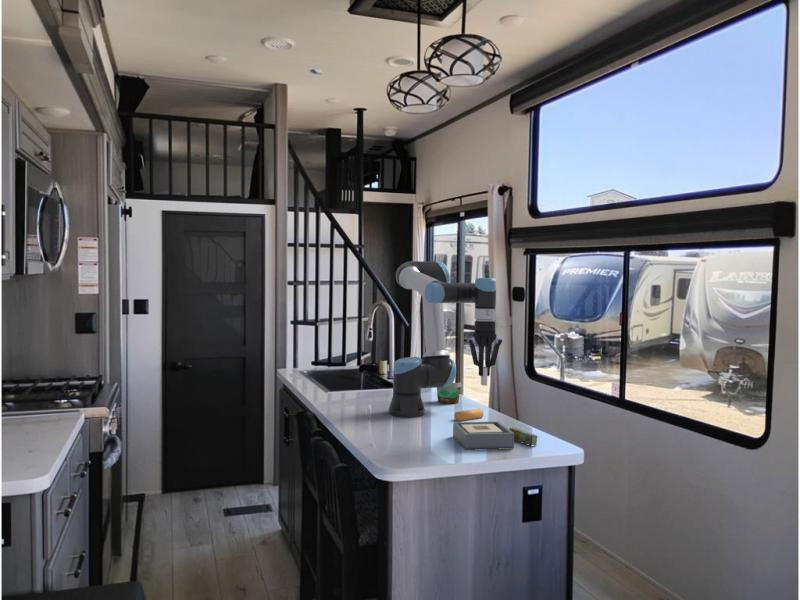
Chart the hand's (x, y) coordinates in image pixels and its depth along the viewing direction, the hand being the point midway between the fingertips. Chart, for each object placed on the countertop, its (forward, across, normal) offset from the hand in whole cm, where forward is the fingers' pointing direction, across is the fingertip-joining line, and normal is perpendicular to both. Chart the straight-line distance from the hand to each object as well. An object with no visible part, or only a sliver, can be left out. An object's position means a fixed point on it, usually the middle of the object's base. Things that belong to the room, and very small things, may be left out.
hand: (484, 384), depth 232 cm
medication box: (+20, +12, -9) cm, 25 cm away
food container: (+18, +1, +56) cm, 59 cm away
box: (+19, -3, -8) cm, 21 cm away
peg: (+17, -3, +24) cm, 29 cm away
